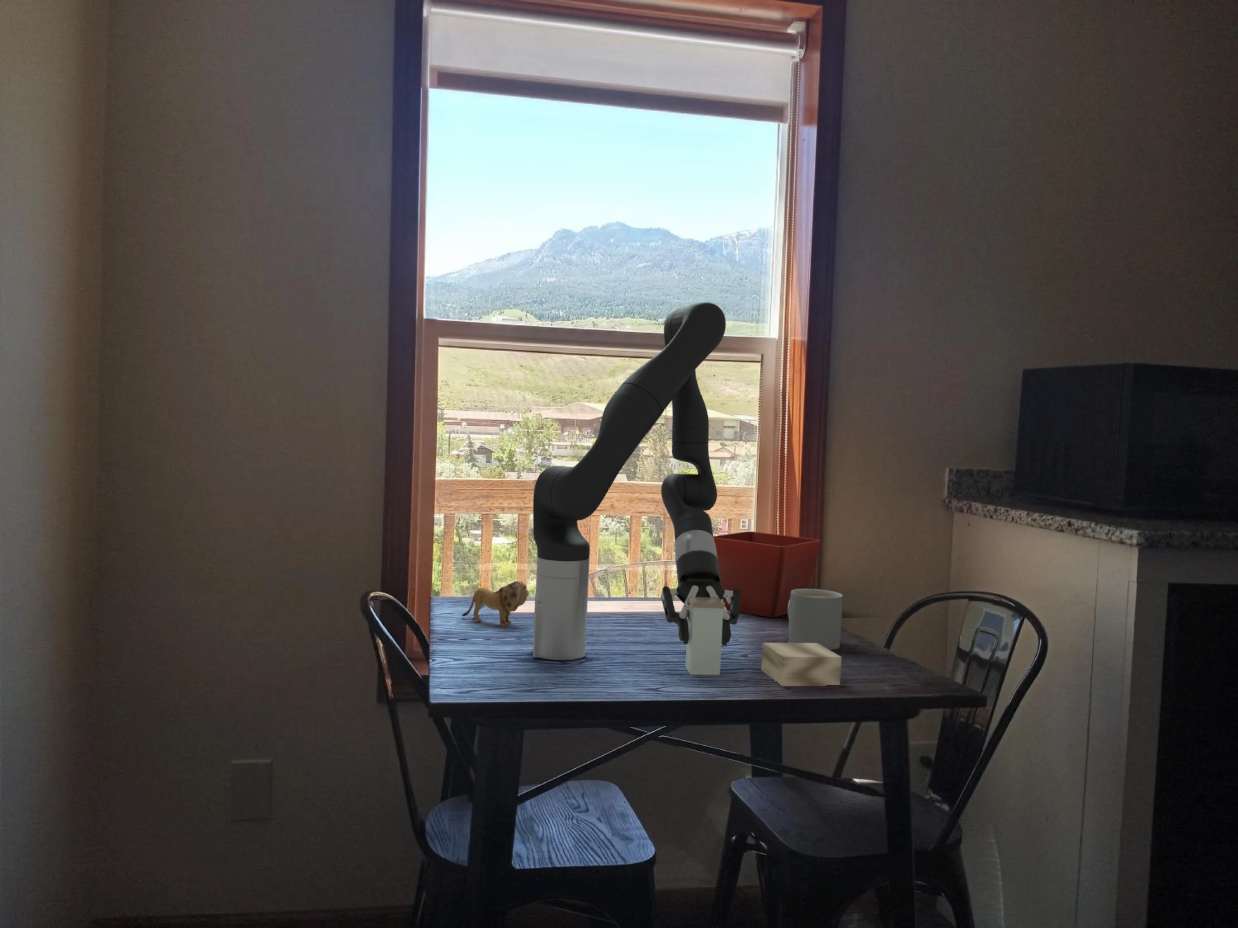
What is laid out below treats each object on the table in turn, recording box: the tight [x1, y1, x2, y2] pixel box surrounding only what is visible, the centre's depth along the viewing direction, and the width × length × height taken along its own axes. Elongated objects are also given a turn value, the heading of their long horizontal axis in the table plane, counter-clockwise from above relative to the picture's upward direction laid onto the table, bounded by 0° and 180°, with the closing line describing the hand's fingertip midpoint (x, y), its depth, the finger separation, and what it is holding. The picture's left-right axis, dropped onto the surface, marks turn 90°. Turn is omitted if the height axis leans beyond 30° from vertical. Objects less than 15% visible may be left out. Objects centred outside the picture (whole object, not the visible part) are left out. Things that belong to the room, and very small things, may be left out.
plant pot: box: [713, 531, 821, 618], centre depth 217 cm, size 19×19×17 cm
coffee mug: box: [787, 588, 844, 651], centre depth 186 cm, size 13×10×10 cm
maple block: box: [760, 642, 842, 687], centre depth 159 cm, size 10×10×5 cm
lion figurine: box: [461, 580, 530, 628], centre depth 191 cm, size 15×5×9 cm, turn 69°
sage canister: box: [685, 597, 726, 676], centre depth 160 cm, size 5×5×12 cm
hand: (705, 641), depth 158 cm, fingers open, 6 cm apart
